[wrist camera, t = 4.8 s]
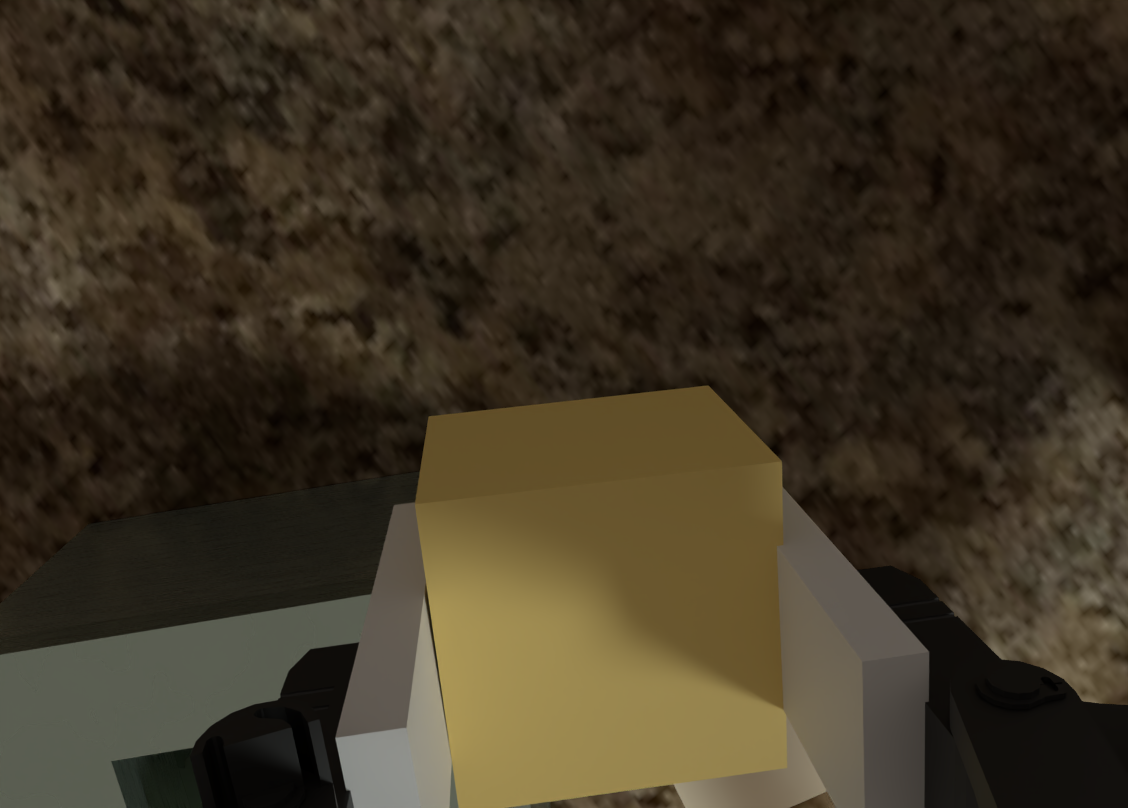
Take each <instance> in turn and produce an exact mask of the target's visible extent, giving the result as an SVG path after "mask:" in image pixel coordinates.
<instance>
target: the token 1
mask: <svg viewBox="0 0 1128 808" xmlns="http://www.w3.org/2000/svg"><path fill="white" fill-rule="evenodd" d="M415 509H416V516H417V523H418V530H419V537H420V544H421V551H422V557H423V564H424V571H425V578H426V585H427V592H428V599H429V606H430V613H431V620H432V627H433V634H434V641H435V647H436V654H437V661H438V668H439V675H440V682H441V689H442V696H443V703H444V710H445V717H446V724H447V731H448V737H449V744H450V751H451V758H452V765H453V772H454V779H455V786H456V793H457V800H458V807H459V808H508V807H515V806H522V805H529V804H537V803H544V802H551V801H558V800H565V799H572V798H579V797H586V796H593V795H600V794H607V793H614V792H621V791H628V790H635V789H642V788H649V787H657V786H664V785H671V784H678V783H685V782H692V781H699V780H706V779H713V778H720V777H727V776H734V775H741V774H748V773H755V772H762V771H769V770H777V769H784V768H787V727H786V714H785V712H784V709H783V685H782V660H781V636H780V612H779V588H778V564H777V546H781V545H783V494H782V461H781V460H780V459H779V458H778V457H777V456H776V455H775V454H774V453H773V452H772V451H771V450H770V448H769V447H768V446H767V445H766V444H765V443H764V442H763V441H762V440H761V439H760V438H759V437H758V436H757V435H756V434H755V433H754V432H753V431H752V430H751V429H750V428H749V427H748V426H747V425H746V424H745V423H744V422H743V421H742V420H741V419H740V418H739V417H738V416H737V414H736V413H735V412H734V411H733V410H732V409H731V408H730V407H729V406H728V405H727V404H726V403H725V402H724V401H723V400H722V399H721V398H720V397H719V396H718V395H717V394H716V393H715V392H714V391H713V390H712V389H711V388H710V387H709V386H699V387H690V388H681V389H672V390H663V391H654V392H645V393H636V394H627V395H618V396H609V397H600V398H591V399H582V400H573V401H564V402H555V403H546V404H537V405H528V406H519V407H509V408H500V409H491V410H482V411H473V412H464V413H455V414H446V415H437V416H429V418H428V424H427V430H426V437H425V443H424V449H423V456H422V462H421V468H420V475H419V481H418V487H417V494H416V500H415Z"/></svg>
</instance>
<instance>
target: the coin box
mask: <svg viewBox="0 0 1128 808" xmlns="http://www.w3.org/2000/svg"><path fill="white" fill-rule="evenodd" d="M419 475H420V471H418V472H412V473H406V474H399V475H393V476H387V477H381V478H374V479H368V480H362V481H356V482H349V483H343V484H337V485H330V486H324V487H318V488H312V489H305V490H299V491H293V492H286V493H280V494H274V495H268V496H261V497H255V498H249V499H242V500H236V501H230V502H224V503H217V504H211V505H205V506H199V507H192V508H186V509H180V510H173V511H167V512H161V513H155V514H148V515H142V516H136V517H129V518H123V519H117V520H111V521H104V522H98V523H92V524H88V525H87V526H86V527H85V528H84V529H83V530H82V531H80V532H79V533H78V534H77V535H76V536H75V537H74V538H73V539H72V540H70V541H69V542H68V543H67V544H66V545H65V546H64V547H63V548H62V549H60V550H59V551H58V552H57V553H56V554H55V555H54V556H53V557H52V558H50V559H49V560H48V561H47V562H46V563H45V564H44V565H43V566H42V567H40V568H39V569H38V570H37V571H36V572H35V573H34V574H33V575H32V576H30V577H29V578H28V579H27V580H26V581H25V582H24V583H23V584H22V585H20V586H19V587H18V588H17V589H16V590H15V591H14V592H13V593H12V594H10V595H9V596H8V597H7V598H6V599H5V600H4V601H3V602H2V603H0V808H203V805H202V801H201V798H200V794H199V790H198V786H197V782H196V778H195V775H194V771H193V767H192V763H191V759H190V755H191V752H192V750H193V747H194V745H195V742H196V740H197V739H198V738H199V737H200V736H201V735H202V734H203V733H204V732H205V731H206V730H207V729H208V728H209V727H210V726H211V725H213V724H214V723H216V722H218V721H219V720H221V719H222V718H224V717H226V716H227V715H229V714H231V713H233V712H235V711H238V710H241V709H243V708H246V707H248V706H251V705H254V704H258V703H264V702H270V701H275V700H278V698H280V693H281V690H282V687H283V685H284V682H285V679H286V677H287V674H288V671H289V670H290V669H291V668H292V667H293V666H294V665H295V664H296V663H297V662H298V661H299V660H300V659H301V658H302V657H303V656H304V655H305V654H306V653H307V652H308V651H309V650H310V649H314V648H322V647H329V646H336V645H343V644H350V643H357V642H360V638H361V634H362V630H363V626H364V622H365V618H366V614H367V610H368V606H369V602H370V598H371V594H372V590H373V586H374V582H375V578H376V574H377V570H378V566H379V562H380V558H381V554H382V550H383V547H384V543H385V539H386V535H387V531H388V527H389V523H390V519H391V515H392V511H393V507H394V505H398V504H406V503H414V502H415V500H416V494H417V487H418V481H419ZM449 808H459V807H458V800H457V793H456V786H455V779H454V772H453V765H452V767H451V786H450V806H449ZM508 808H550V802H544V803H537V804H529V805H522V806H515V807H508Z"/></svg>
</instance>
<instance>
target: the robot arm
mask: <svg viewBox="0 0 1128 808" xmlns="http://www.w3.org/2000/svg"><path fill="white" fill-rule="evenodd" d="M782 494H783V545H781V546H777V564H778V588H779V612H780V636H781V660H782V685H783V709H784V712H785V714H786V716H787V717H788V719H789V721H790V723H791V725H792V727H793V729H794V730H795V732H796V734H797V736H798V738H799V740H800V742H801V744H802V745H803V747H804V749H805V751H806V753H807V755H808V757H809V759H810V760H811V762H812V764H813V766H814V768H815V770H816V772H817V773H818V775H819V777H820V779H821V781H822V783H823V785H824V787H825V788H826V790H827V792H828V794H829V796H830V798H831V800H832V801H833V803H834V805H835V807H836V808H1128V705H1115V704H1099V703H1091V702H1083V701H1081V699H1080V697H1079V696H1078V694H1077V693H1076V691H1075V690H1074V689H1073V688H1072V687H1071V686H1070V685H1069V684H1068V683H1067V682H1066V681H1065V680H1064V679H1062V678H1060V677H1059V676H1057V675H1055V674H1053V673H1051V672H1049V671H1047V670H1046V669H1044V668H1041V667H1037V666H1034V665H1030V664H1027V663H1024V662H1020V661H1010V660H1001V659H1000V658H999V657H998V656H997V655H996V654H995V653H994V652H993V651H992V650H991V649H990V648H989V647H988V646H987V645H986V644H985V643H984V642H983V641H982V640H981V639H980V638H979V637H978V636H977V635H976V634H975V633H974V632H973V631H972V630H971V629H970V628H969V627H968V626H967V625H966V624H965V623H964V622H963V621H962V620H961V619H960V618H959V617H958V616H957V617H954V613H953V612H952V611H951V610H950V609H949V608H948V607H947V606H946V605H945V604H944V603H943V602H942V601H940V602H939V599H938V597H937V596H936V595H935V594H934V593H933V592H932V591H931V590H930V589H929V588H928V587H927V586H926V585H925V584H924V583H923V582H922V581H921V580H920V579H918V578H916V577H914V576H911V575H909V574H907V573H905V572H903V571H901V570H899V569H897V568H895V567H892V566H884V567H877V568H870V569H863V570H856V569H855V568H854V567H853V566H852V564H851V563H850V562H849V561H848V560H847V559H846V558H845V557H844V555H843V554H842V553H841V552H840V551H839V550H838V549H837V548H836V546H835V545H834V544H833V543H832V542H831V541H830V540H829V539H828V537H827V536H826V535H825V534H824V533H823V532H822V531H821V530H820V528H819V527H818V526H817V525H816V524H815V523H814V522H813V521H812V519H811V518H810V517H809V516H808V515H807V514H806V513H805V512H804V510H803V509H802V508H801V507H800V506H799V505H798V504H797V503H796V501H795V500H794V499H793V498H792V497H791V496H790V495H789V494H788V492H787V491H786V490H785V489H784V488H783V487H782ZM190 759H191V763H192V767H193V771H194V775H195V778H196V782H197V786H198V790H199V794H200V798H201V801H202V805H203V808H449V806H450V786H451V767H452V758H451V751H450V744H449V737H448V731H447V724H446V717H445V710H444V703H443V696H442V689H441V682H440V675H439V668H438V661H437V654H436V647H435V641H434V634H433V627H432V620H431V613H430V606H429V599H428V592H427V585H426V578H425V571H424V564H423V557H422V551H421V544H420V537H419V530H418V523H417V516H416V509H415V502H414V503H406V504H398V505H394V507H393V511H392V515H391V519H390V523H389V527H388V531H387V535H386V539H385V543H384V547H383V550H382V554H381V558H380V562H379V566H378V570H377V574H376V578H375V582H374V586H373V590H372V594H371V598H370V602H369V606H368V610H367V614H366V618H365V622H364V626H363V630H362V634H361V638H360V642H357V643H350V644H343V645H336V646H329V647H322V648H314V649H310V650H309V651H308V652H307V653H306V654H305V655H304V656H303V657H302V658H301V659H300V660H299V661H298V662H297V663H296V664H295V665H294V666H293V667H292V668H291V669H290V670H289V671H288V674H287V677H286V679H285V682H284V685H283V687H282V690H281V693H280V698H278V700H275V701H270V702H264V703H258V704H254V705H251V706H248V707H246V708H243V709H241V710H238V711H235V712H233V713H231V714H229V715H227V716H226V717H224V718H222V719H221V720H219V721H218V722H216V723H214V724H213V725H211V726H210V727H209V728H208V729H207V730H206V731H205V732H204V733H203V734H202V735H201V736H200V737H199V738H198V739H197V740H196V742H195V745H194V747H193V750H192V752H191V755H190Z"/></svg>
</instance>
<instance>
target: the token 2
mask: <svg viewBox="0 0 1128 808" xmlns="http://www.w3.org/2000/svg"><path fill="white" fill-rule="evenodd" d="M786 727H787V768H784V769H777V770H769V771H762V772H755V773H748V774H741V775H734V776H727V777H720V778H713V779H706V780H699V781H692V782H685V783H678V784H674V786H675V788H676V790H677V792H678V794H679V796H680V798H681V800H682V802H683V804H684V806H685V808H789V807H792V806H794V805H796V804H799V803H801V802H803V801H806V800H808V799H810V798H812V797H815V796H817V795H819V794H822V793H824V792H826V791H827V790H826V788H825V787H824V785H823V783H822V781H821V779H820V777H819V775H818V773H817V772H816V770H815V768H814V766H813V764H812V762H811V760H810V759H809V757H808V755H807V753H806V751H805V749H804V747H803V745H802V744H801V742H800V740H799V738H798V736H797V734H796V732H795V730H794V729H793V727H792V725H791V723H790V721H789V719H788V717H787V716H786Z"/></svg>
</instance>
